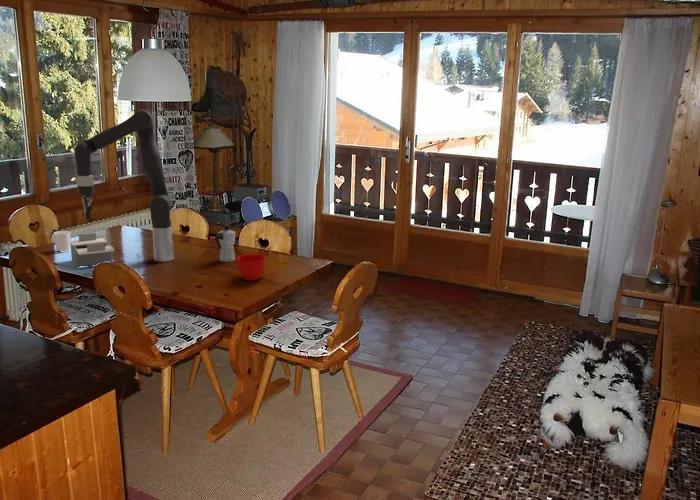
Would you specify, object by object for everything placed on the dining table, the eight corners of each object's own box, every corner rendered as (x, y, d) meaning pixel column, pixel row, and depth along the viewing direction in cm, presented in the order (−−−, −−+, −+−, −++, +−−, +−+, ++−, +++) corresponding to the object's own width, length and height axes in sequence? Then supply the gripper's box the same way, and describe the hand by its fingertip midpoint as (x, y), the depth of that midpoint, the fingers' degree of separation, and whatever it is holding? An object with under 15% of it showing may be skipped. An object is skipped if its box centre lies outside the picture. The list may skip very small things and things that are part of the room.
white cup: (60, 253, 343) (58, 235, 341) (52, 251, 348) (50, 232, 345) (74, 250, 349) (73, 232, 347) (66, 248, 354) (64, 229, 351)
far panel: (103, 239, 338) (103, 231, 337) (107, 242, 332) (106, 234, 331) (70, 242, 330) (69, 234, 329) (73, 246, 324) (72, 238, 323)
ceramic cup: (246, 270, 323) (246, 251, 321) (270, 278, 313) (270, 258, 310) (226, 276, 314) (225, 256, 311) (250, 284, 303) (250, 263, 301)
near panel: (110, 247, 325) (110, 238, 323) (114, 251, 318) (113, 242, 317) (76, 250, 316) (75, 242, 315) (79, 254, 310) (78, 246, 309)
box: (105, 256, 341) (103, 239, 338) (111, 264, 328) (110, 246, 325) (71, 260, 333) (70, 242, 330) (77, 268, 320) (75, 250, 317)
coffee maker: (229, 255, 349) (228, 222, 344) (242, 258, 344) (241, 224, 339) (209, 262, 336) (208, 227, 331) (222, 264, 332) (221, 230, 327)
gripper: (96, 186, 316) (99, 221, 321) (91, 181, 327) (93, 215, 332) (79, 187, 313) (82, 222, 317) (75, 182, 323) (77, 217, 328)
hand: (88, 219), depth 324 cm, fingers closed
